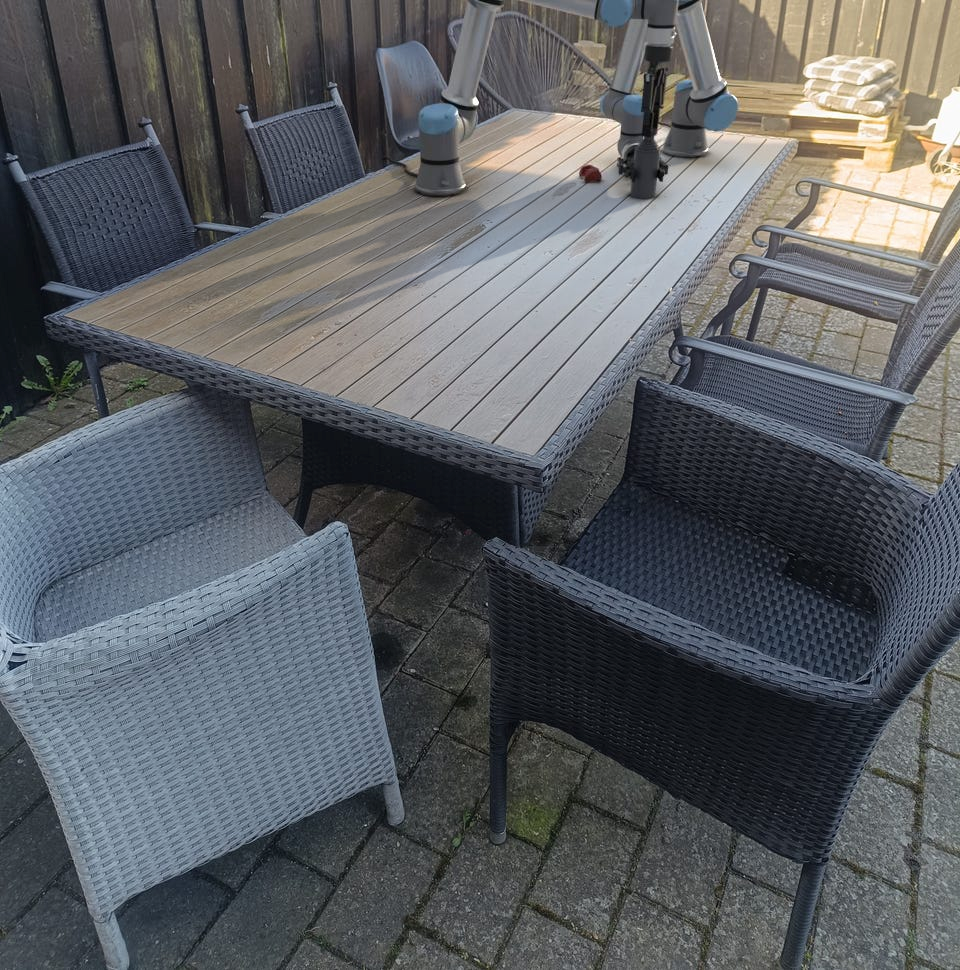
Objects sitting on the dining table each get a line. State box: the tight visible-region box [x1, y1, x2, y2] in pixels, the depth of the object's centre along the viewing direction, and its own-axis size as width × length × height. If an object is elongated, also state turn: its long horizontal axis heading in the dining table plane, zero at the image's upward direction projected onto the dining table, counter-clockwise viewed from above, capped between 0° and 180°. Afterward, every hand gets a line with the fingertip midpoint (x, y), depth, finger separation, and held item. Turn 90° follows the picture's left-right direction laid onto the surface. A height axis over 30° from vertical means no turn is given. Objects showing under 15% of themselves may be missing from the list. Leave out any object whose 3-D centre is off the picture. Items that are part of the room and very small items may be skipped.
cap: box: [651, 127, 658, 137], centre depth 244 cm, size 4×4×2 cm
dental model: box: [578, 164, 603, 183], centre depth 266 cm, size 6×4×8 cm
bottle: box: [629, 136, 661, 200], centre depth 249 cm, size 7×7×18 cm
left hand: (649, 134), depth 244 cm, fingers closed on cap, 4 cm apart
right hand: (648, 177), depth 246 cm, fingers closed on bottle, 7 cm apart
